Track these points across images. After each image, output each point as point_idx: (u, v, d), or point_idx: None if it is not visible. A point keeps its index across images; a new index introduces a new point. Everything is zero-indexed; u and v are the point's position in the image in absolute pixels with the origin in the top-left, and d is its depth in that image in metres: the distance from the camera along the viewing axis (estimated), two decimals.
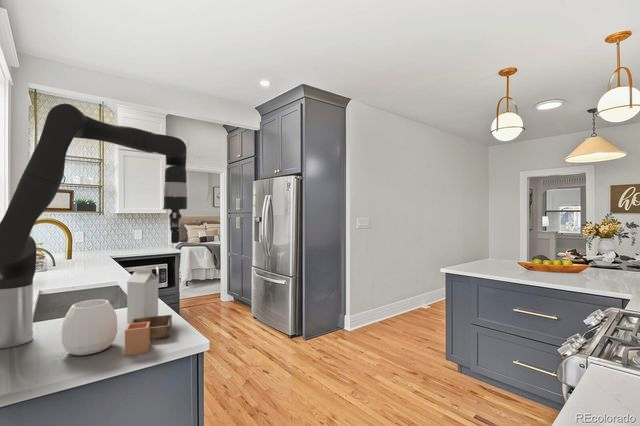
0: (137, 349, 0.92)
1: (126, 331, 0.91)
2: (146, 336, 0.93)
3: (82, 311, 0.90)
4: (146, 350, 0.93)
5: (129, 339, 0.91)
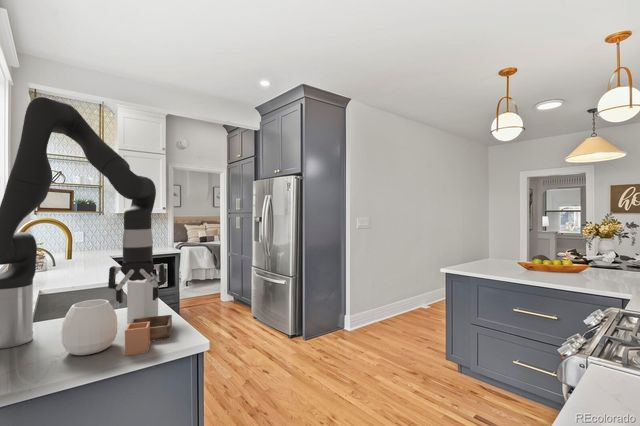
0: (137, 349, 0.92)
1: (126, 331, 0.91)
2: (146, 336, 0.93)
3: (82, 311, 0.90)
4: (146, 350, 0.93)
5: (129, 339, 0.91)
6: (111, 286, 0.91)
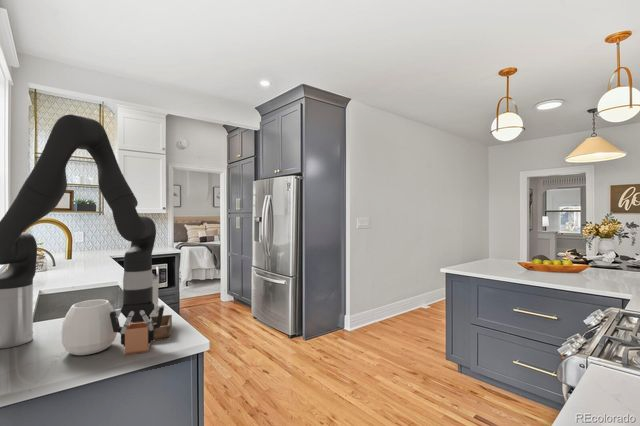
0: (137, 349, 0.92)
1: (126, 331, 0.91)
2: (146, 336, 0.93)
3: (82, 311, 0.90)
4: (146, 350, 0.93)
5: (129, 339, 0.91)
6: (116, 330, 0.91)
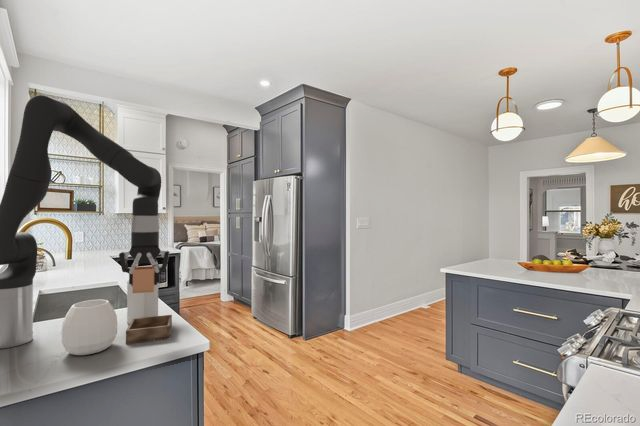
0: (144, 289, 0.99)
1: (134, 271, 0.98)
2: (152, 277, 0.99)
3: (82, 311, 0.90)
4: (152, 290, 0.99)
5: (136, 278, 0.98)
6: (125, 270, 0.98)
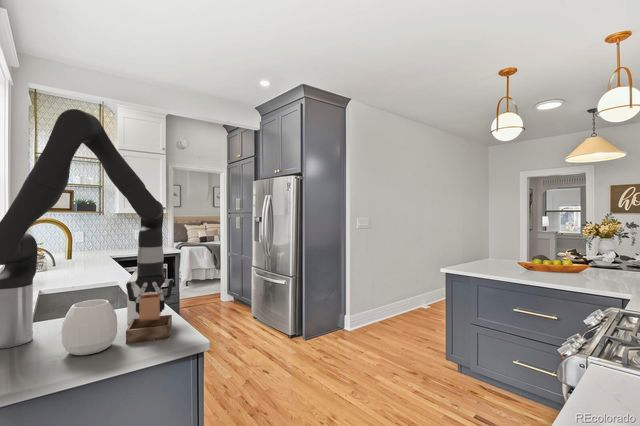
0: (150, 316, 1.04)
1: (140, 300, 1.03)
2: (158, 305, 1.05)
3: (82, 311, 0.90)
4: (158, 317, 1.05)
5: (143, 307, 1.03)
6: (131, 299, 1.03)
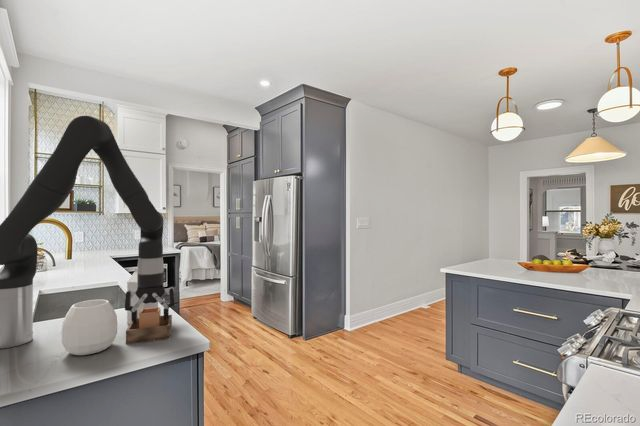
0: None
1: (140, 315, 1.03)
2: (157, 319, 1.05)
3: (82, 311, 0.90)
4: None
5: (143, 322, 1.03)
6: (127, 308, 1.03)
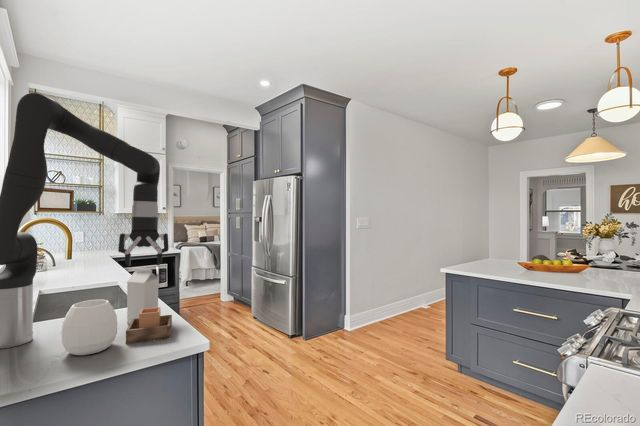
0: None
1: (140, 315, 1.03)
2: (157, 319, 1.05)
3: (82, 311, 0.90)
4: None
5: (143, 322, 1.03)
6: (121, 250, 1.03)
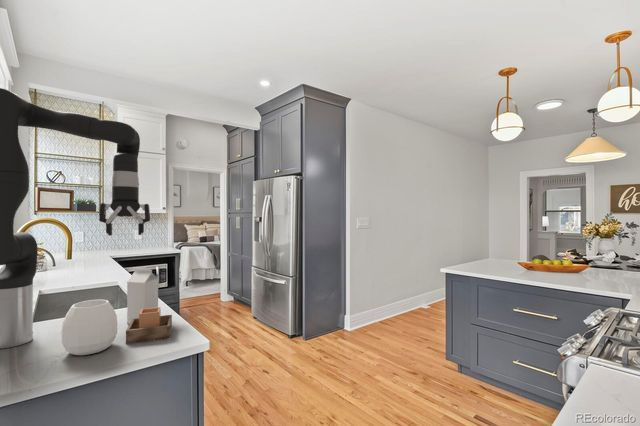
0: None
1: (140, 315, 1.03)
2: (157, 319, 1.05)
3: (82, 311, 0.90)
4: None
5: (143, 322, 1.03)
6: (102, 220, 1.05)
